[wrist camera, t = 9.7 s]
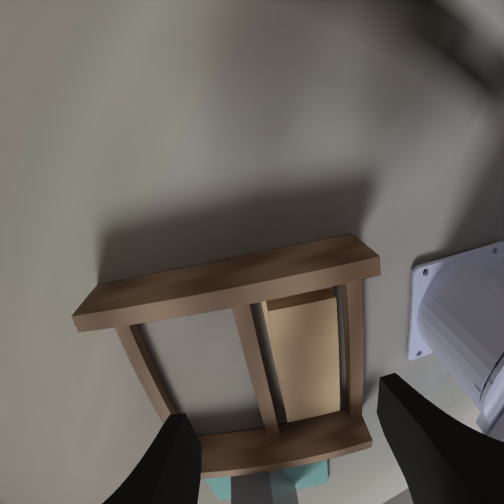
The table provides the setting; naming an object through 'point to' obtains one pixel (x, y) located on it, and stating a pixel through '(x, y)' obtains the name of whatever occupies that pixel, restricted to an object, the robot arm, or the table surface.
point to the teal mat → (298, 475)
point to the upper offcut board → (307, 353)
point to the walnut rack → (250, 343)
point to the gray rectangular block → (263, 488)
